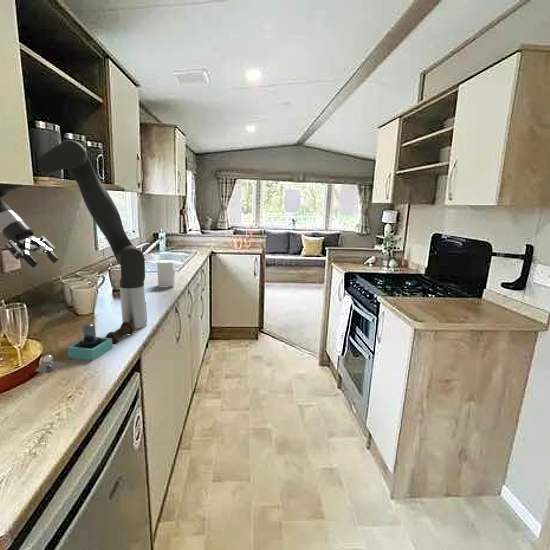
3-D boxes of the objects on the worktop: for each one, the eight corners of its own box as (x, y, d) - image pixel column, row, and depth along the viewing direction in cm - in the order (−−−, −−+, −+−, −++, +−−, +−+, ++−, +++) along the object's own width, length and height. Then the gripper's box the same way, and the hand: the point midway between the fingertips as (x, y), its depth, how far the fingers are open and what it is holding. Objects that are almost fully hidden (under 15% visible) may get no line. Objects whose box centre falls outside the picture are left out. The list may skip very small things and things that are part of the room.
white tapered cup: (173, 287, 218) (172, 262, 215) (158, 287, 217) (156, 262, 213) (175, 283, 227) (174, 259, 224) (160, 284, 225) (159, 260, 222)
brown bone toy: (104, 353, 132) (127, 336, 146) (114, 347, 130) (137, 331, 145) (95, 339, 131) (119, 324, 145) (105, 333, 130) (129, 318, 144)
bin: (90, 349, 130) (89, 336, 129) (113, 352, 128) (111, 338, 127) (69, 361, 120) (67, 347, 119) (93, 364, 118) (92, 350, 117)
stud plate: (48, 364, 118) (46, 349, 117) (67, 367, 116) (66, 351, 115) (30, 375, 111) (28, 358, 110) (50, 377, 110) (48, 361, 109)
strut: (90, 350, 126) (87, 322, 124) (101, 352, 125) (98, 323, 123) (80, 356, 122) (78, 326, 120) (92, 357, 121) (89, 327, 119)
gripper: (-2, 221, 115) (34, 259, 115) (36, 218, 128) (68, 252, 128) (-13, 237, 117) (22, 275, 117) (25, 233, 130) (57, 267, 131)
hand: (46, 263), depth 123 cm, fingers open, 8 cm apart
